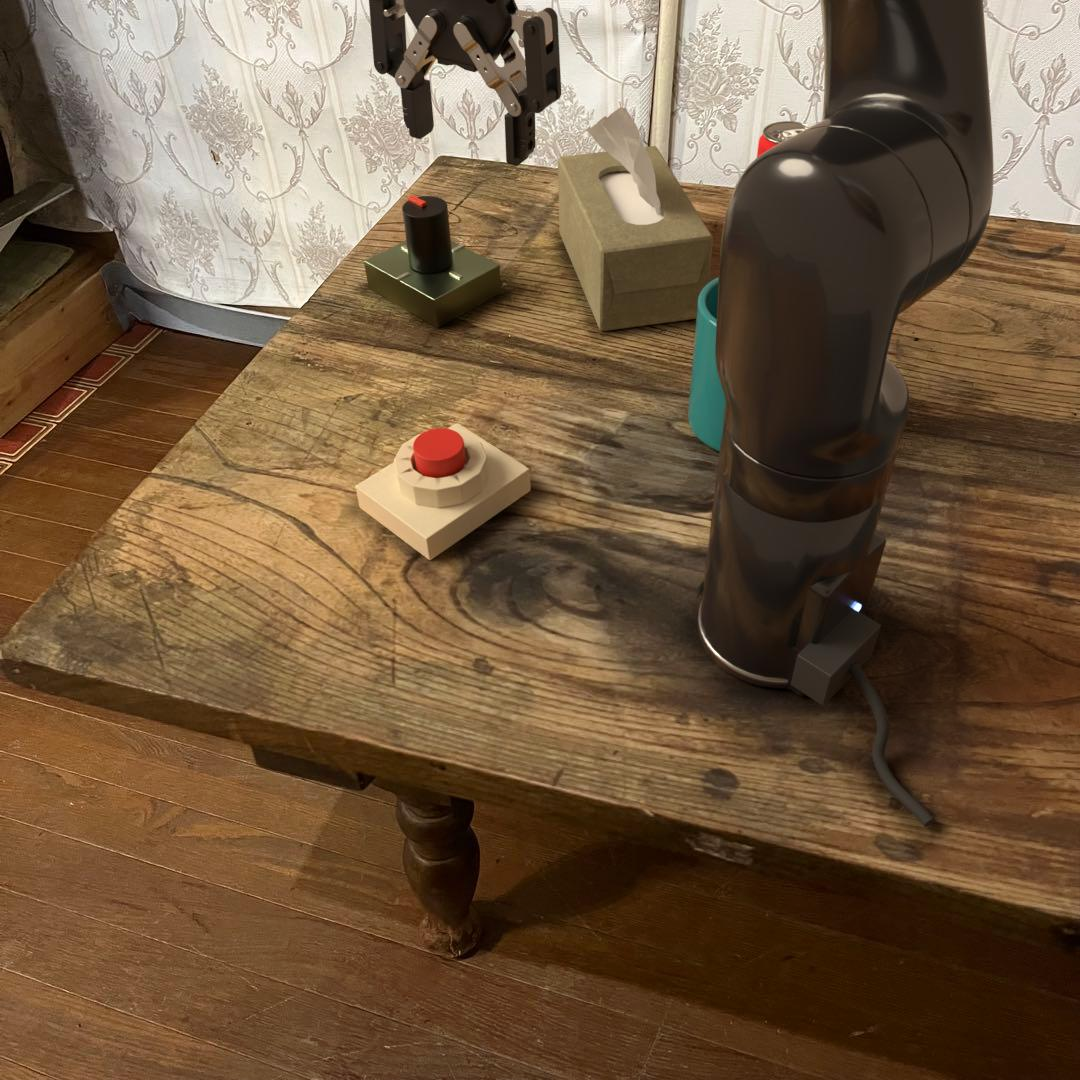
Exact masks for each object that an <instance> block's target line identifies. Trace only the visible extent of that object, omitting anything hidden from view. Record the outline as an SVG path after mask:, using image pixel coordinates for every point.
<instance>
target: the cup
mask: <svg viewBox="0 0 1080 1080" xmlns="http://www.w3.org/2000/svg"><path fill="white" fill-rule="evenodd" d="M718 282H719V276H718V277H716V278H714V279H713V280H711V281H709V283H708V284H707V285H706V286H705V287H704V288H703V289H702V291H701V292H700V294H699V297H698V305H697V316H696V319H695V331H694V339H693V352H692V361H691V374H690V383H689V394H688V395H689V396H688V404H687V405H688V406H687V408H688V409H687V420H688V424H689V427H690V430H691V431H692V432H693V433H692V434H694V435H695V437H696V438H697V439H698V440H699V441H700V442H701V443H703V444H704V445H706V446H707V447H709V448H710V449H712V450H714V451H717V452H718V453H720V445H721V436H722V428H723V420H724V411H725V402H726V399H725V395H724V392H723V389H722V386H721V383H720V379H719V376H718V371H717V366H716V354H715V350H716V324H717V304H718Z"/></svg>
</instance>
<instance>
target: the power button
mask: <svg viewBox="0 0 1080 1080" xmlns="http://www.w3.org/2000/svg"><path fill="white" fill-rule="evenodd" d="M421 433H422V434H421ZM421 433H419V434H420V435H419V436H418V437H417V438H416V439H415V441H414V444H413V450H414V456H415V463H416V467H417V469H418V471H419V472H420V473H421V474H423V475H424V476H426V477H432V478H443V477H448V476H453V475H455V474H457V473H458V472H460V471H461V470H462V469H463V467H464V465H465V462H466V457H465V448H464V440H463V438H462V436H461V435H460V434H459V433H457V432H456V431H454V430H451V429H448V428H446V427H445V428H444V427H438V428H437V427H436V428H430V429H427V430H426V431H424V432H421Z"/></svg>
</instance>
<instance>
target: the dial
mask: <svg viewBox="0 0 1080 1080" xmlns="http://www.w3.org/2000/svg"><path fill="white" fill-rule="evenodd" d="M401 209H402V210H401V211H402V219H403V226H404V227H403V228H404V235H405V240H406V242H407V249H408V257H409V264H410V266H411V268H412V269H414V270H416V271H418V272H422V273H435V272H440V271H443V270H445V269H447V268H448V267H449V266H450V265H451V264H452V262H453V257H452V247H451V241H452V238H451V227H450V220H449V208H448V203H447V202H446V200H445V199H443V198H441V197H439V196H434V195H422V196H415V195H410V196H408V197H407V201H405V202H404V203H403V205H402V207H401Z"/></svg>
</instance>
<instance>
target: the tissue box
mask: <svg viewBox="0 0 1080 1080" xmlns="http://www.w3.org/2000/svg"><path fill="white" fill-rule="evenodd" d="M585 130H586V131H587V133H588V135H590V136H591V138H592V139H593V140H594V142H595V143H597V145H598V146H599V147H600V148H601V149H603V150H604V151H600V152H590V153H581V154H574V155H564V156H563V155H562V156H559V157H558V158H557V176H558V177H557V179H558V181H557V182H558V225H559V226H558V227H559V229H558V231H559V235H560V238H561V240H562V242H563V245H564V247H565V250H566V253H567V254H568V257H569V259H570V261H571V264H572V266H573V269H574V272H575V274H576V276H577V278H578V280H579V284H580V285H581V288H582V291H583V293H584V295H585V298H586V300H587V302H588V305H589V307H590V310H591V312H592V314H593V315H592V316H593V317H594V319H595V322H596V325H597V327H598V330H599V331H601V332H608V331H614V330H623V329H630V328H631V329H632V328H636V327H639V328H640V327H645V326H653V325H659V324H660V325H661V324H667V323H675V322H682V321H689V320H690V321H691V320H696V316H697V305H698V297H699V294H700V292H701V291H702V289H703V288H704V287H705V286H706V285H707V284H708V283H709V282H710V275H711V268H712V267H711V266H712V255H713V245H714V244H713V243H714V236H713V235H712V233H711V232H710V230H709V228H708V227H707V225H706V224H705V222H704V221H703V219H702V216H701V215H700V214H699V213H698V211H697V209H696V208H695V206H694V204H693V203H692V201H691V199H690V198H689V196H688V195H687V193H686V192H685V190H684V189H683V187H682V185H681V184H680V182H679V181H678V179H677V177H676V176H675V174H674V173H673V171H672V169H671V167H670V166H669V165H668V162H667V161H666V159H665V157H664V156H663V155H662V153H661V152H660V150H659V148H658V147H657V146H656V145H651V146H645V145H644V143H643V141H642V138H641V134H640V132H639V129H638V126H637V124H636V122H635V120H634V119H633V117H632V116H631V114H630V113H629V111H628V109H627V107H622V106H620V107H619V108H617V109H615V110H614V111H613V112H612V113H610V114H609V115H608V116H606V115H604V116H603V117H601V118H600V119H599V121H597V122H596V123H595V124H594V125H593V126H591V127H588V128H585Z"/></svg>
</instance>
